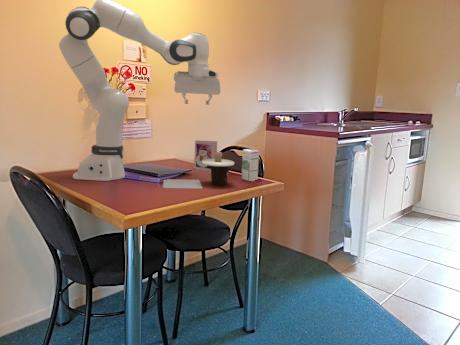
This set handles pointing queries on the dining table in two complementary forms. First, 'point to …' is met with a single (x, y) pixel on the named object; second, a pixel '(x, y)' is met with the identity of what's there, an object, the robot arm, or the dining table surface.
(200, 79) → the robot arm
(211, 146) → the greeting card
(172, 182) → the grey mat
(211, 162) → the sage lid
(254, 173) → the syrup box
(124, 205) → the dining table surface
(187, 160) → the dining table surface
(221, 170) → the coffee mug
